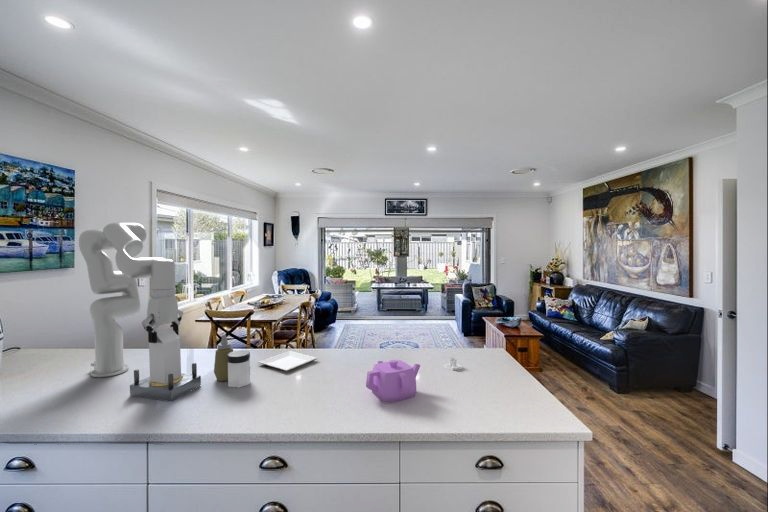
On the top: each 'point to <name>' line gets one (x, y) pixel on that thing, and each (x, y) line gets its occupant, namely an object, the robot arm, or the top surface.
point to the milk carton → (165, 356)
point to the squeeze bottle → (222, 359)
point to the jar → (238, 368)
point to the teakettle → (392, 380)
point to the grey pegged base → (165, 386)
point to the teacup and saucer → (453, 364)
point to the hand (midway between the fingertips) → (163, 338)
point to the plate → (287, 360)
